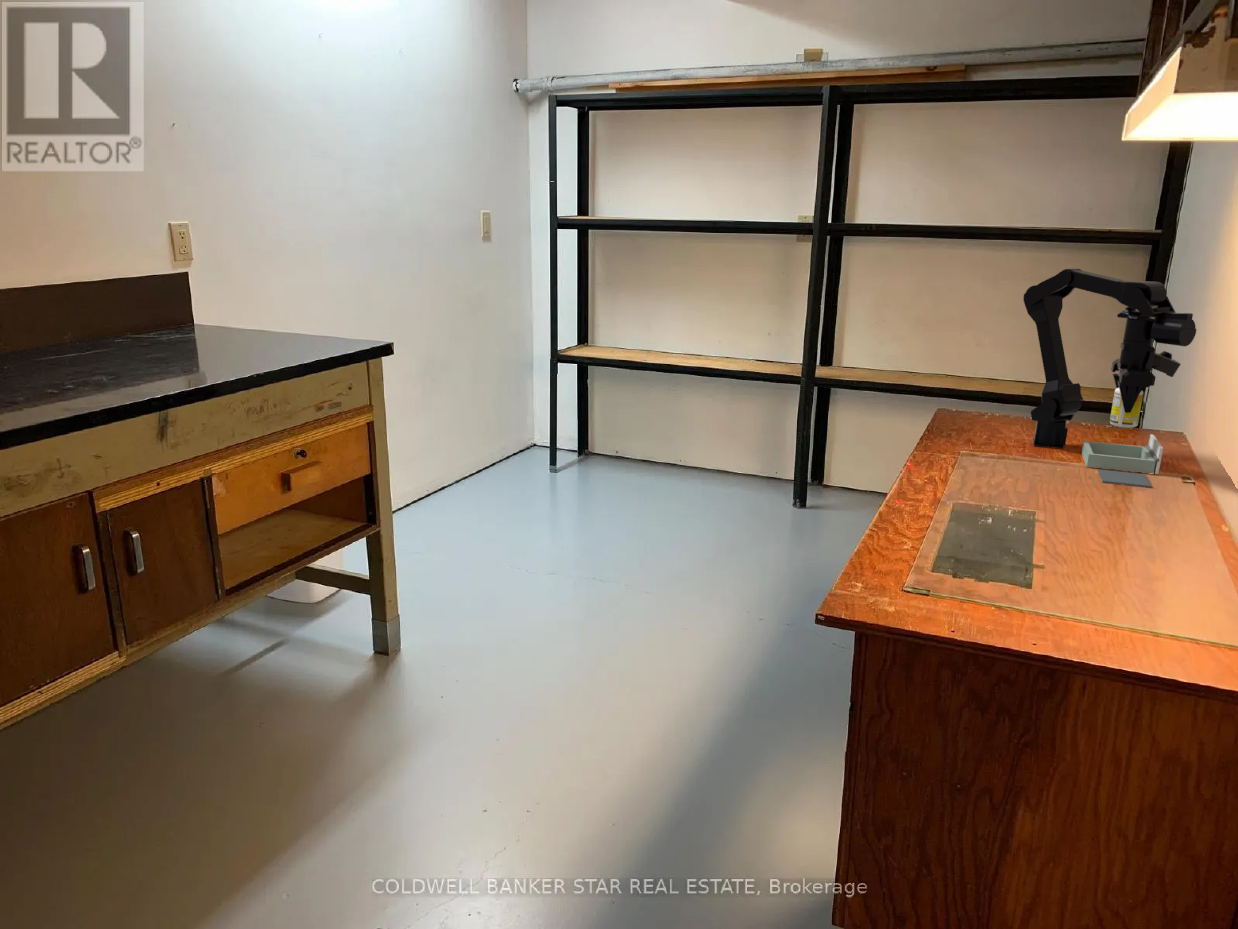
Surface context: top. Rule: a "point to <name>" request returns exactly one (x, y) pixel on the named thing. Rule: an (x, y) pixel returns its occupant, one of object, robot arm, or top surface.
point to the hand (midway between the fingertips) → (1125, 409)
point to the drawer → (1123, 456)
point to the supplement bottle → (1120, 415)
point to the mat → (1124, 478)
